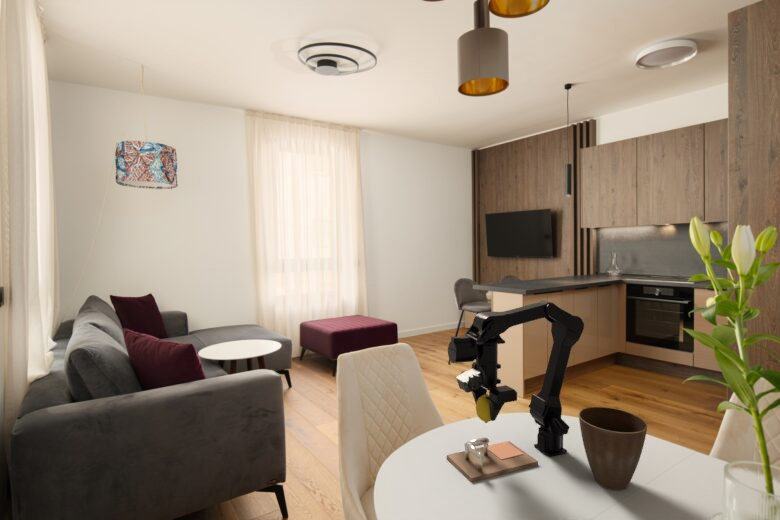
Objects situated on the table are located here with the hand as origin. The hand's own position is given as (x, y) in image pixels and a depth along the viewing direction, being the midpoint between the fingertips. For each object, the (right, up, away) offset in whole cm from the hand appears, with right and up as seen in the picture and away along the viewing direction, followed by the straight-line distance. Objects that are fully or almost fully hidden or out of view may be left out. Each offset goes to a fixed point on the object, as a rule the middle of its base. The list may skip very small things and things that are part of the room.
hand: (486, 416), depth 115 cm
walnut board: (+1, -12, -1) cm, 12 cm away
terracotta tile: (+5, -12, +3) cm, 13 cm away
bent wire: (-2, -12, -3) cm, 13 cm away
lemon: (0, -2, 0) cm, 2 cm away
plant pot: (+28, -13, -10) cm, 33 cm away
